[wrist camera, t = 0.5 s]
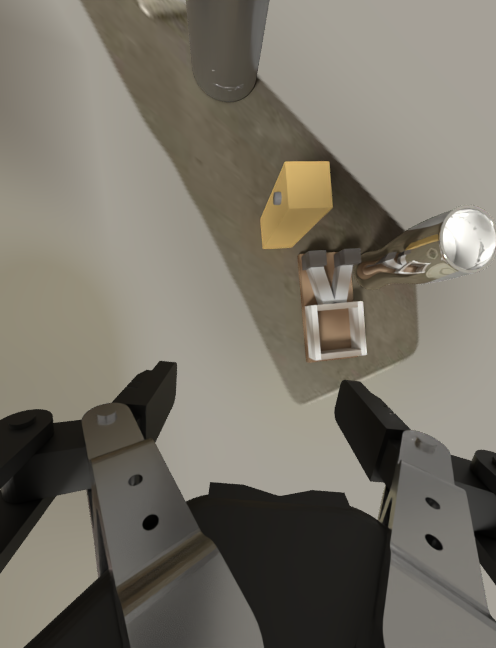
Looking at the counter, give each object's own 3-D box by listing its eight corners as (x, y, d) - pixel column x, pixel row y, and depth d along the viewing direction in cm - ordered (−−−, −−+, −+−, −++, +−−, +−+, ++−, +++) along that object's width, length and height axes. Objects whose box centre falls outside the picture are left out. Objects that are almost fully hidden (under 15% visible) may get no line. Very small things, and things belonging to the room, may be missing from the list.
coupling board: (297, 255, 36) (307, 248, 32) (346, 253, 37) (361, 245, 33) (306, 361, 37) (317, 366, 33) (354, 356, 38) (370, 360, 34)
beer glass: (342, 277, 37) (425, 248, 23) (364, 240, 38) (460, 187, 23) (377, 301, 38) (480, 289, 23) (399, 264, 39) (513, 229, 24)
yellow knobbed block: (256, 219, 36) (278, 161, 23) (293, 217, 36) (335, 161, 23) (258, 249, 36) (282, 208, 23) (295, 247, 36) (338, 207, 24)
